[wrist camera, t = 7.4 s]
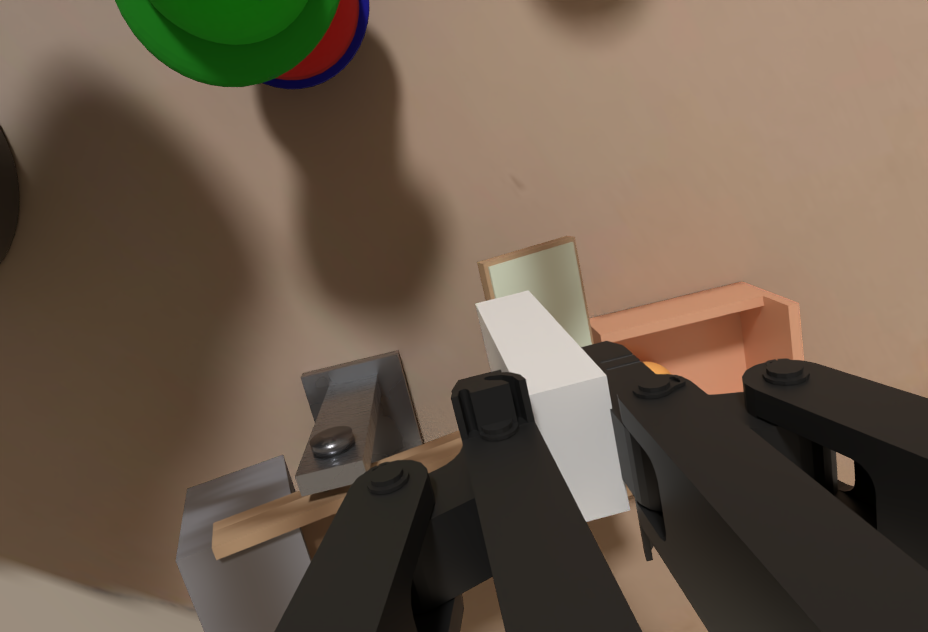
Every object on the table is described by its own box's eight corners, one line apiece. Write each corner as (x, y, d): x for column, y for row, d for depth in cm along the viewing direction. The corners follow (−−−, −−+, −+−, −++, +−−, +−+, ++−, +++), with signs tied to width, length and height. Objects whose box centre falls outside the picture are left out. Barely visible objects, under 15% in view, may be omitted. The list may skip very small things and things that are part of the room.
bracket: (351, 526, 41) (326, 670, 30) (303, 373, 38) (254, 466, 27) (439, 504, 41) (449, 639, 30) (398, 350, 38) (390, 433, 27)
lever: (225, 587, 34) (223, 690, 27) (131, 343, 30) (99, 388, 23) (567, 448, 40) (639, 502, 33) (523, 231, 36) (593, 238, 29)
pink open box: (608, 450, 41) (639, 497, 35) (584, 319, 39) (614, 348, 33) (756, 413, 41) (812, 455, 36) (741, 281, 39) (798, 303, 33)
